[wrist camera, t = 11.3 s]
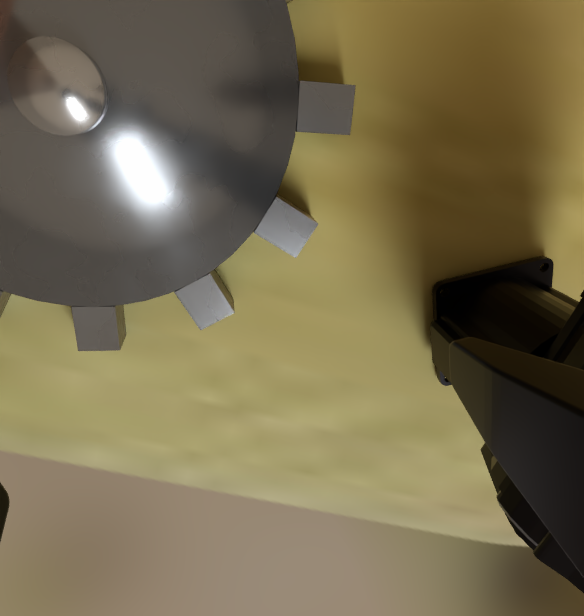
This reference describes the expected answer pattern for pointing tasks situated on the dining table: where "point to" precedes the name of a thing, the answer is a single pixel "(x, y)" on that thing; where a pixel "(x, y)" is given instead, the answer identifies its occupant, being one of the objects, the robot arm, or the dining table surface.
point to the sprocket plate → (147, 150)
